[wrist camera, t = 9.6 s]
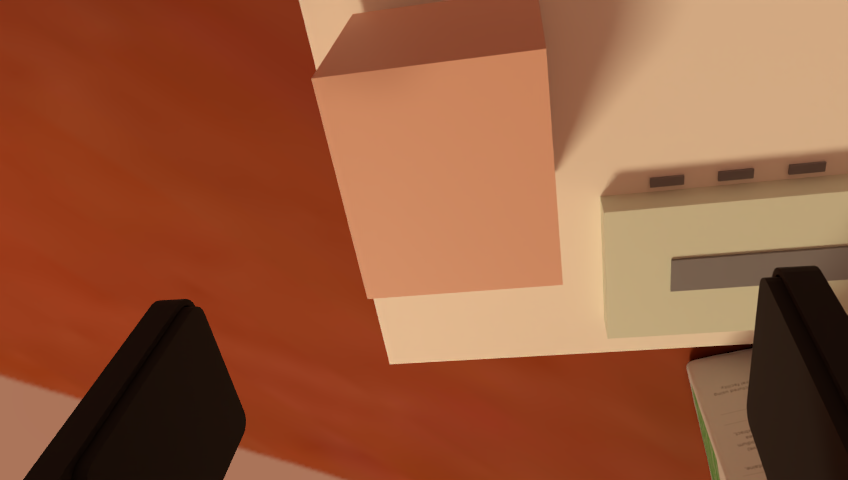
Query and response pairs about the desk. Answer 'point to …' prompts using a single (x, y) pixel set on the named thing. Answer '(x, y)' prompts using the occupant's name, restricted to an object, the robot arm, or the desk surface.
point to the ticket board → (660, 176)
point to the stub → (444, 146)
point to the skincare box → (725, 415)
